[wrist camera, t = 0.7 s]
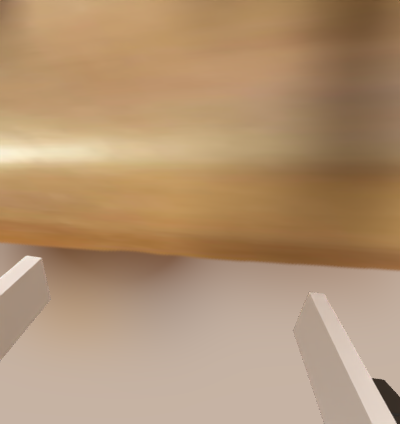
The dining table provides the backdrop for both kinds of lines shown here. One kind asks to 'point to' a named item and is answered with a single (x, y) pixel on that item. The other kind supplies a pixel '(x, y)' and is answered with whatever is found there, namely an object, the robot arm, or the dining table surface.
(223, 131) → the dining table surface
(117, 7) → the dining table surface
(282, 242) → the dining table surface
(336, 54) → the dining table surface
